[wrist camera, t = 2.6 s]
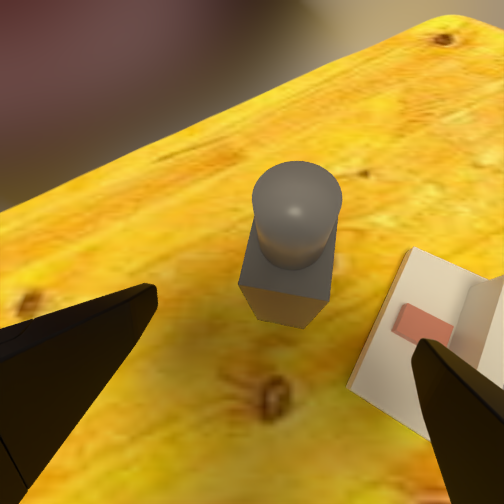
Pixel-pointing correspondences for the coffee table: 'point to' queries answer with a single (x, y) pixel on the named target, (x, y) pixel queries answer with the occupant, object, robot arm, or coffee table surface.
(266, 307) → the plug
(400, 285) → the socket board
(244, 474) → the coffee table surface
